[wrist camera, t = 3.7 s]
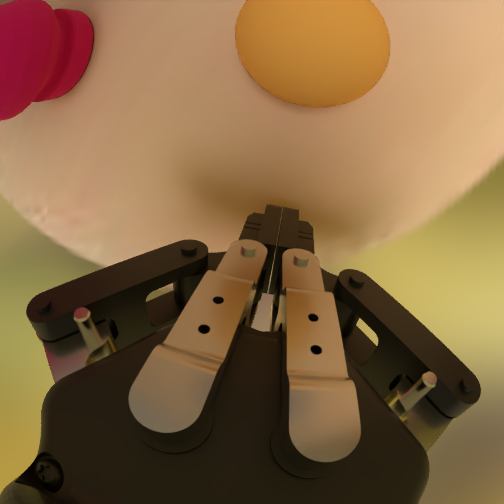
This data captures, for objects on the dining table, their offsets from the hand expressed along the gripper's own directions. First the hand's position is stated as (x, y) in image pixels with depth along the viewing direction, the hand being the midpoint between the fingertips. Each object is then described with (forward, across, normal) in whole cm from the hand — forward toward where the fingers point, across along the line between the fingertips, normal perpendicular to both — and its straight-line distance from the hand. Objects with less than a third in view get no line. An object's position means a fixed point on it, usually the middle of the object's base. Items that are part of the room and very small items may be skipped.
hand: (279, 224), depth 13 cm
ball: (-1, 0, -8) cm, 9 cm away
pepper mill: (+2, +15, -9) cm, 18 cm away
